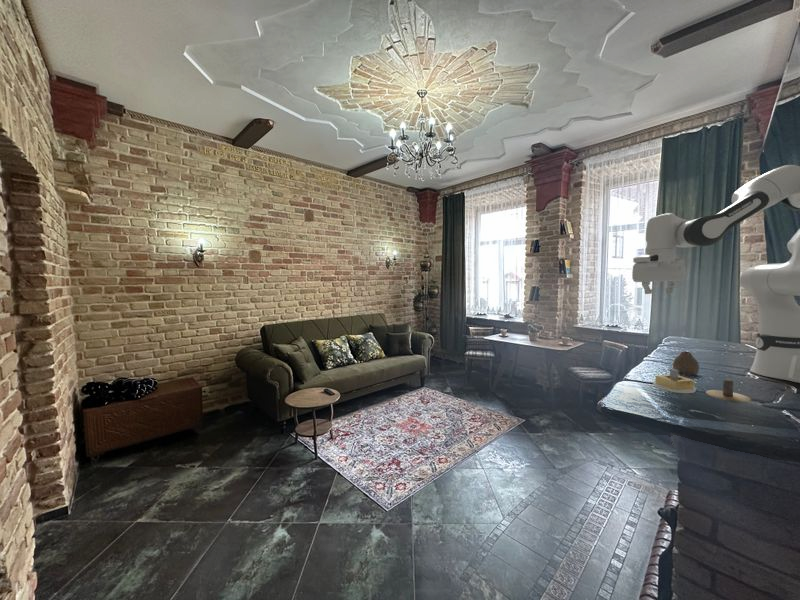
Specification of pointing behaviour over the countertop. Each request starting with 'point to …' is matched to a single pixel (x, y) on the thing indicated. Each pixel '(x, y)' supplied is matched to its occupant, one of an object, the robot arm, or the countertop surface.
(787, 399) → the countertop surface
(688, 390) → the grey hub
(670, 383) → the yellow square frame
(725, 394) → the oak stand
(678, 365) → the vase
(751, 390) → the countertop surface
